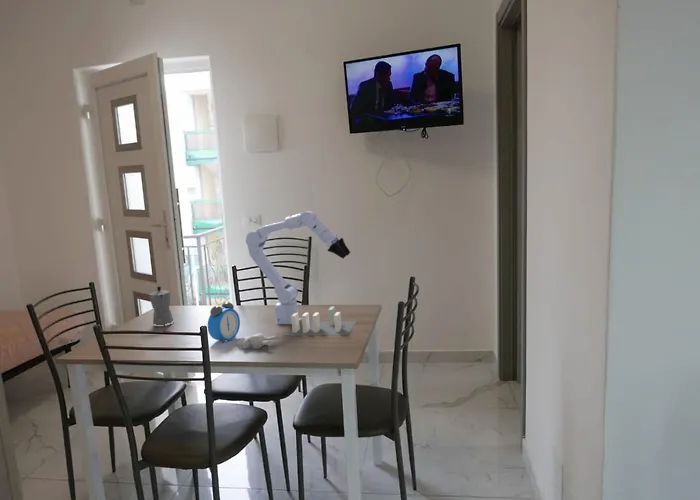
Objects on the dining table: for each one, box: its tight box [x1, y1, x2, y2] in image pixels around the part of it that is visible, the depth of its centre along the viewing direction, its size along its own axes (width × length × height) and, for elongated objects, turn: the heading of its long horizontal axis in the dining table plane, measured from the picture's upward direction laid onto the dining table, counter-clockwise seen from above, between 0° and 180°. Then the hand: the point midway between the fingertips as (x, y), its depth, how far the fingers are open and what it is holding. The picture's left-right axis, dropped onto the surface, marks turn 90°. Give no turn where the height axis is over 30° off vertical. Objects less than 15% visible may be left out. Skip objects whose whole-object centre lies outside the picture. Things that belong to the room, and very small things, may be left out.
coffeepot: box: [148, 286, 174, 325], centre depth 254 cm, size 15×9×18 cm, turn 26°
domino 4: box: [328, 306, 336, 326], centre depth 233 cm, size 2×5×7 cm, turn 169°
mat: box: [284, 320, 357, 337], centre depth 229 cm, size 26×19×1 cm
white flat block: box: [334, 311, 342, 332], centre depth 223 cm, size 2×5×7 cm, turn 168°
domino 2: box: [301, 312, 311, 333], centre depth 226 cm, size 2×5×7 cm, turn 168°
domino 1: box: [291, 312, 300, 333], centre depth 227 cm, size 2×5×7 cm, turn 169°
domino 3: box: [312, 311, 321, 332], centre depth 225 cm, size 2×5×7 cm, turn 168°
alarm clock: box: [207, 301, 241, 343], centre depth 222 cm, size 13×6×15 cm, turn 151°
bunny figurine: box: [236, 332, 278, 350], centre depth 211 cm, size 10×5×15 cm
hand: (346, 255), depth 231 cm, fingers open, 7 cm apart
